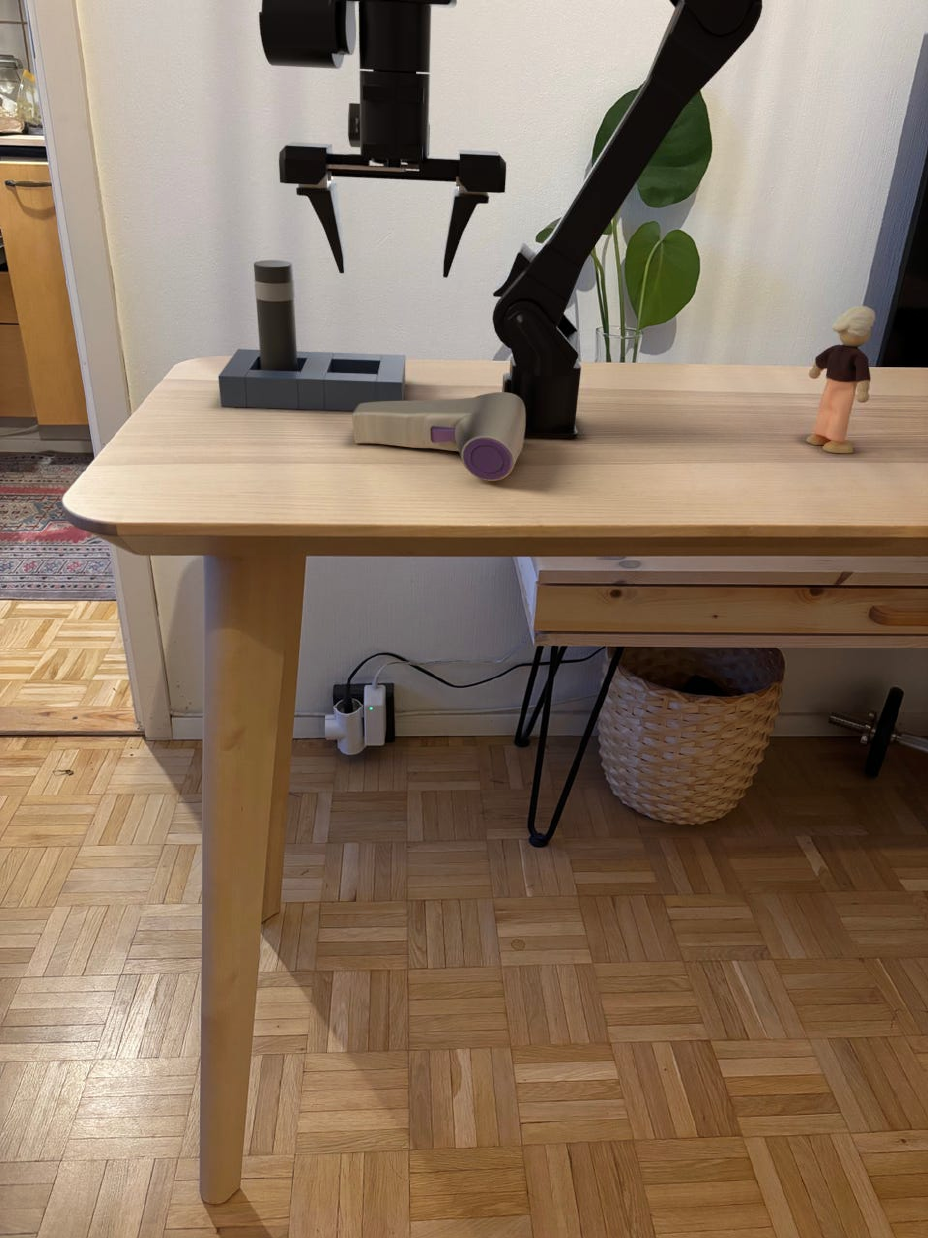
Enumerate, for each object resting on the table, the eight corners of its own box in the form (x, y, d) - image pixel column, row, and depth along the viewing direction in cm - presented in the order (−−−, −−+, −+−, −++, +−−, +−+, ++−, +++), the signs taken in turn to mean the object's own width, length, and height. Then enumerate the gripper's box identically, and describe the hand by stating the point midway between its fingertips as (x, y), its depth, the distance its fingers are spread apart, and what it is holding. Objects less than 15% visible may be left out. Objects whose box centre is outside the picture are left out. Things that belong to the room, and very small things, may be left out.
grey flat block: (405, 383, 99) (405, 354, 97) (401, 412, 90) (402, 382, 88) (240, 377, 98) (237, 348, 96) (220, 406, 89) (218, 375, 88)
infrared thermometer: (364, 437, 86) (525, 439, 84) (336, 487, 76) (519, 489, 74) (360, 389, 84) (526, 389, 82) (331, 433, 73) (520, 434, 72)
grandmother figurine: (872, 453, 85) (912, 313, 79) (845, 460, 84) (883, 316, 77) (807, 428, 91) (839, 295, 85) (780, 434, 89) (810, 298, 83)
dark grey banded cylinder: (306, 393, 94) (300, 264, 88) (276, 400, 92) (268, 268, 85) (284, 385, 96) (277, 258, 90) (254, 392, 94) (245, 262, 87)
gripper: (503, 77, 82) (493, 263, 90) (292, 66, 81) (300, 255, 89) (512, 77, 72) (499, 285, 80) (272, 65, 72) (283, 276, 79)
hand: (393, 274), depth 83 cm, fingers open, 9 cm apart
